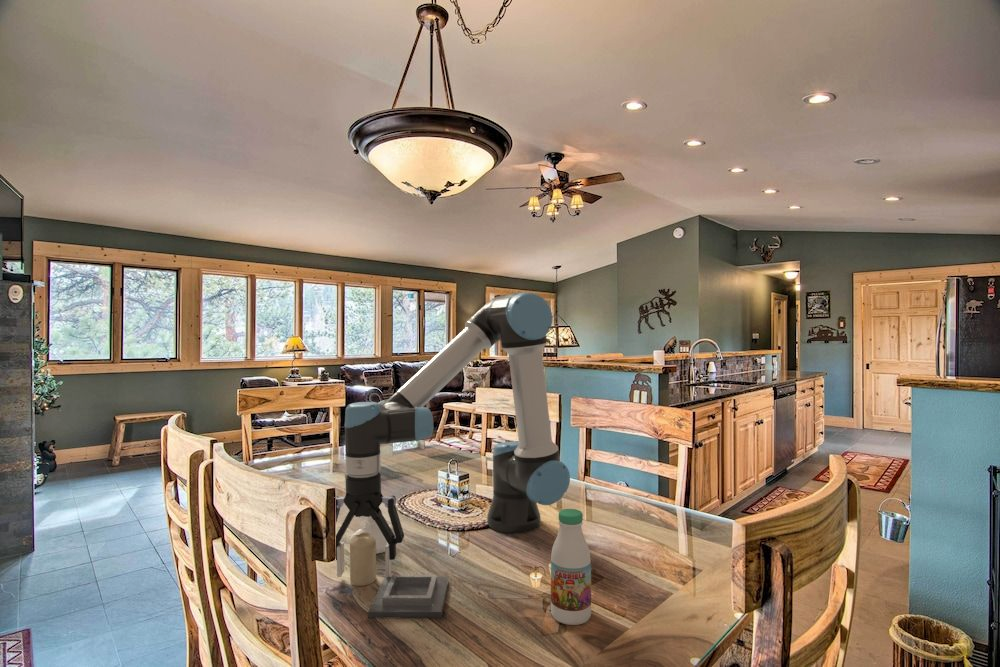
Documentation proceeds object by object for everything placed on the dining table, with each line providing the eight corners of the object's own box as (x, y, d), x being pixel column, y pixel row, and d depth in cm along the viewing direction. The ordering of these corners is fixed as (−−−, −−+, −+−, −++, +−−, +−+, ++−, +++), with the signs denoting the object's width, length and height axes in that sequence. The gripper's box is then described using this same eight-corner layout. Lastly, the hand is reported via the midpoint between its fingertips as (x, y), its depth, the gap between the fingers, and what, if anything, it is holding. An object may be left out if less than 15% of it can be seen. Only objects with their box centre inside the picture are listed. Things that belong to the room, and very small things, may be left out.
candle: (369, 587, 111) (368, 541, 111) (345, 585, 112) (345, 539, 112) (380, 575, 116) (379, 531, 116) (357, 573, 117) (357, 529, 117)
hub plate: (448, 582, 113) (448, 569, 113) (441, 618, 99) (440, 604, 99) (384, 582, 113) (384, 569, 113) (368, 618, 99) (367, 604, 99)
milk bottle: (547, 605, 103) (547, 505, 103) (585, 603, 104) (585, 504, 104) (555, 627, 96) (554, 520, 95) (595, 625, 96) (595, 518, 96)
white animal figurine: (394, 553, 133) (382, 511, 138) (404, 542, 128) (392, 499, 133) (348, 566, 126) (338, 521, 131) (357, 555, 121) (346, 509, 126)
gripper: (305, 478, 110) (307, 582, 110) (411, 477, 110) (412, 581, 110) (318, 469, 118) (319, 566, 118) (417, 468, 117) (418, 565, 118)
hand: (364, 573), depth 114 cm, fingers open, 10 cm apart
